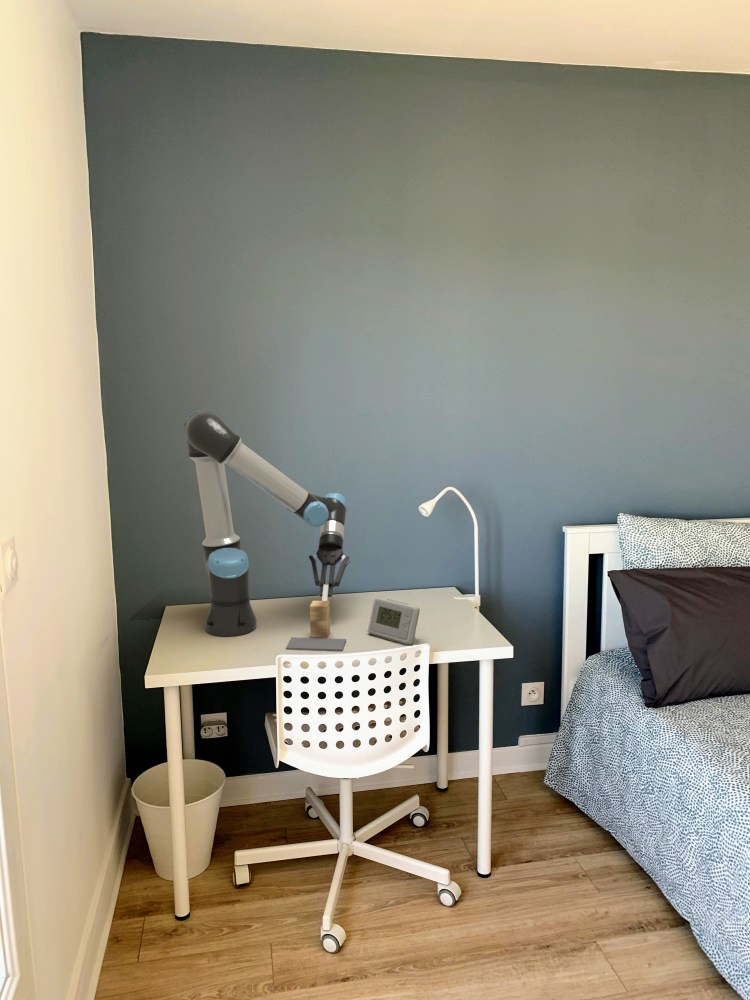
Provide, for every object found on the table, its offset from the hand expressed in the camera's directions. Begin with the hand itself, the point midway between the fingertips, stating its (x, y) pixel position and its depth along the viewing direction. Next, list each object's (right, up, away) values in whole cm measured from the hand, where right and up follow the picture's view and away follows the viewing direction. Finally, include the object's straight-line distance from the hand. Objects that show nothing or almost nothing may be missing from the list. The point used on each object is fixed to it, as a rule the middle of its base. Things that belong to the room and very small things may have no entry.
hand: (324, 605), depth 232 cm
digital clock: (+21, -9, -7) cm, 23 cm away
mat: (-1, -9, -12) cm, 15 cm away
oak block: (-1, -8, -5) cm, 10 cm away
